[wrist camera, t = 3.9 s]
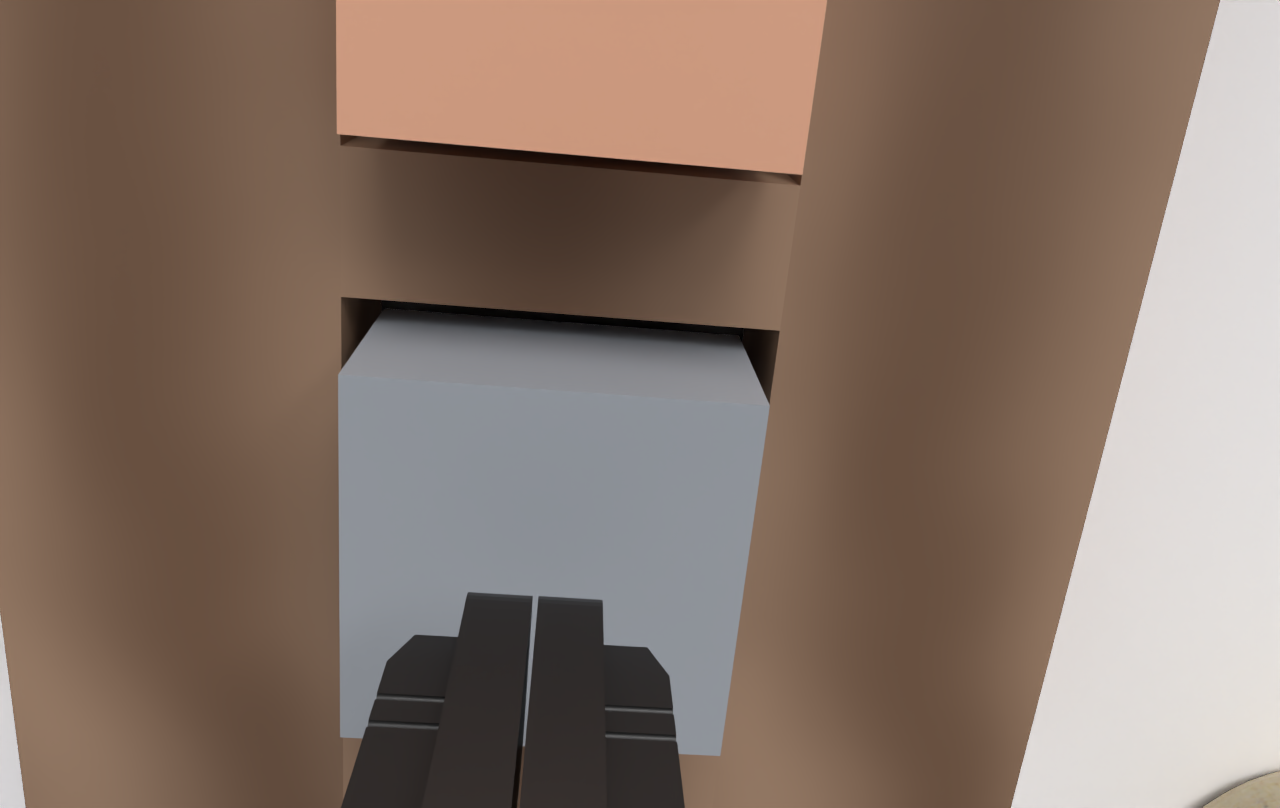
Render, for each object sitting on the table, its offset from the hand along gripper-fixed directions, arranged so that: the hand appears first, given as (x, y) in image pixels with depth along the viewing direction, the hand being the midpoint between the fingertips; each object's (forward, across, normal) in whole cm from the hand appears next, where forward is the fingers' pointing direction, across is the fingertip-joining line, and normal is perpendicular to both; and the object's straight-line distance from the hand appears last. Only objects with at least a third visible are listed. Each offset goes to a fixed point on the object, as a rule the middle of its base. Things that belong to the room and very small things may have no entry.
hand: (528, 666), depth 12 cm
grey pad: (+5, 0, 0) cm, 5 cm away
